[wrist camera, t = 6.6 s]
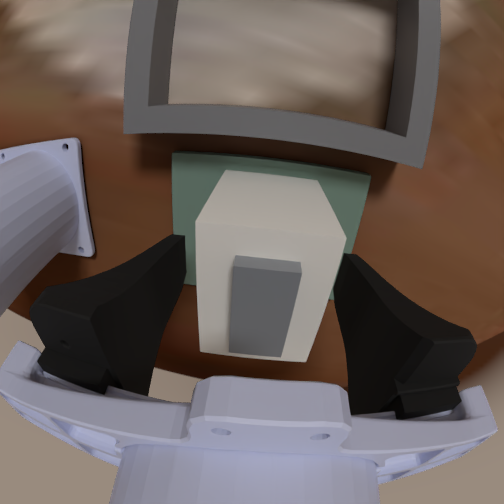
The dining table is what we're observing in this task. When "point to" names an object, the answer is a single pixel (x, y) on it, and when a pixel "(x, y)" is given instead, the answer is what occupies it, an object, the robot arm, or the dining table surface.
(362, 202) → the rubber mat
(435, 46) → the grey square frame
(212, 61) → the dining table surface
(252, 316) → the block
